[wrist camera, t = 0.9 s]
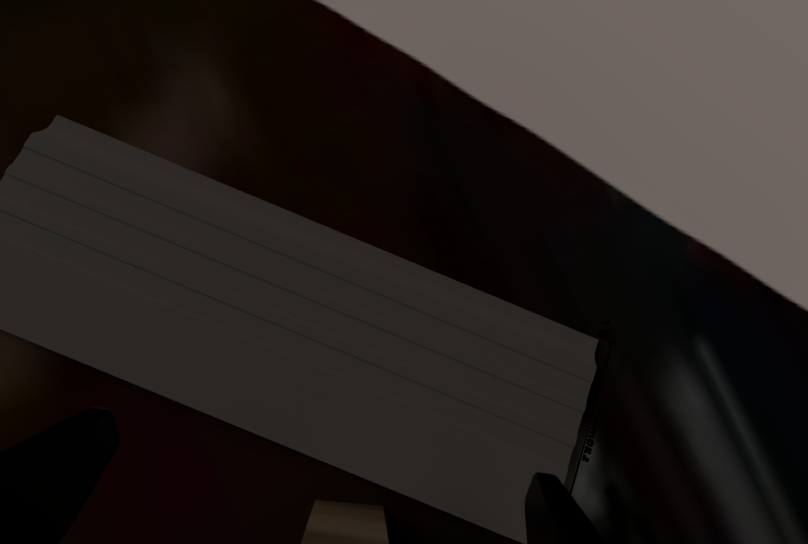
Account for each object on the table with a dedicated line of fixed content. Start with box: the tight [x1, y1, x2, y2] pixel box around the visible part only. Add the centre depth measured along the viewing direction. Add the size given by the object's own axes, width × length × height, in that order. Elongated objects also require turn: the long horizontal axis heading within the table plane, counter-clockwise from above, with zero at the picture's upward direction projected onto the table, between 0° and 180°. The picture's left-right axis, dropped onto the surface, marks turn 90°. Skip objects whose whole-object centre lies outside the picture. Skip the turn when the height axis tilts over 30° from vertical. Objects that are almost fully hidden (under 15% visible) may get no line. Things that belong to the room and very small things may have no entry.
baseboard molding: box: [0, 115, 615, 544], centre depth 21 cm, size 31×3×12 cm
